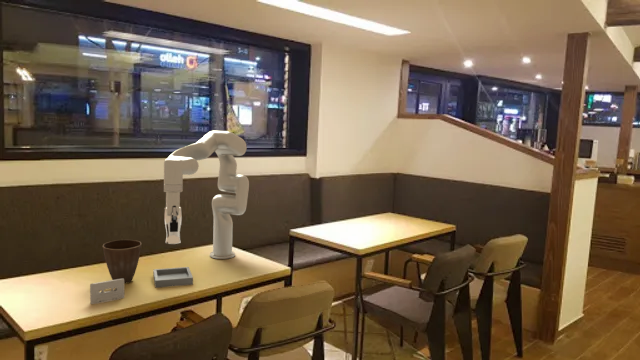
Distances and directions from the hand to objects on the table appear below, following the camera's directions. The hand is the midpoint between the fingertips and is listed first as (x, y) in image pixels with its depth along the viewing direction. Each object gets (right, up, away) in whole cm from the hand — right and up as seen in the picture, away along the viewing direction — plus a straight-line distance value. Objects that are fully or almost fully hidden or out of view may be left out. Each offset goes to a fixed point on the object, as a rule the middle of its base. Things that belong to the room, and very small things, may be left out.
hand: (173, 229), depth 202 cm
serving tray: (-1, -22, +3) cm, 22 cm away
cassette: (-18, -25, -22) cm, 38 cm away
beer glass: (0, -6, +1) cm, 6 cm away
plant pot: (-21, -22, -1) cm, 30 cm away
